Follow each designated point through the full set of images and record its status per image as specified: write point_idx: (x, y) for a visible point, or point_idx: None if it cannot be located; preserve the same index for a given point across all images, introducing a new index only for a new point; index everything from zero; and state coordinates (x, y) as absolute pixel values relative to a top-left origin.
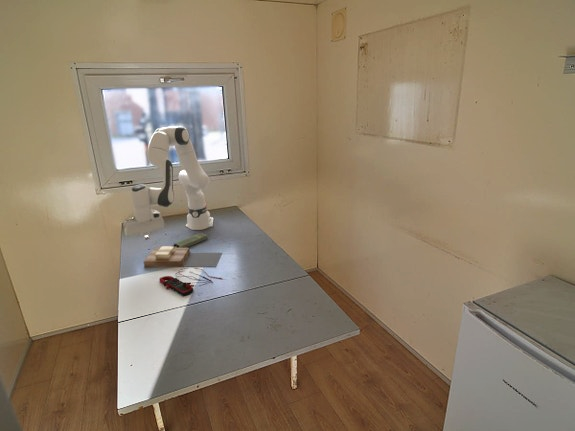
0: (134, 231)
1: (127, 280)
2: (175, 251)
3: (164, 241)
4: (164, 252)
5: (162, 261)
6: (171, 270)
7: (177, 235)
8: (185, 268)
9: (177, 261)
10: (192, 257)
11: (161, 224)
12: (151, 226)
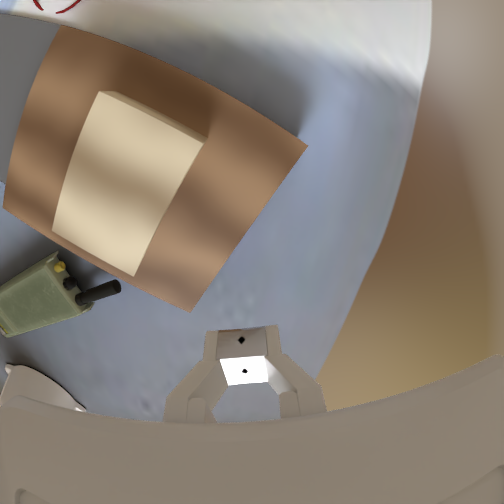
0: (460, 432)
1: (412, 48)
2: None
3: (148, 369)
4: (118, 145)
5: (168, 64)
6: (145, 7)
7: (100, 381)
8: (72, 4)
9: (77, 29)
10: (14, 126)
11: (6, 444)
12: (126, 495)
